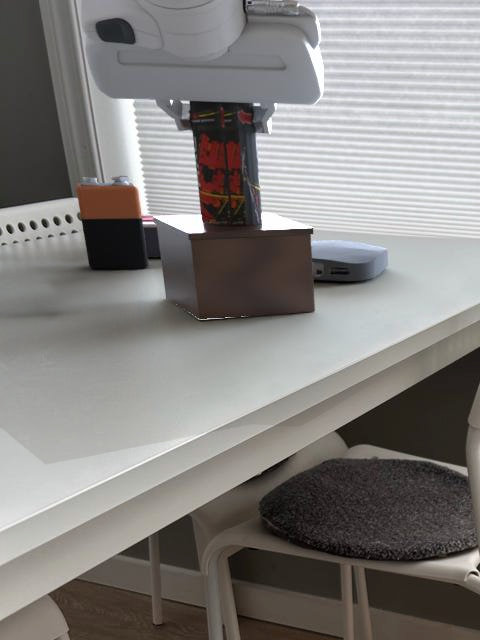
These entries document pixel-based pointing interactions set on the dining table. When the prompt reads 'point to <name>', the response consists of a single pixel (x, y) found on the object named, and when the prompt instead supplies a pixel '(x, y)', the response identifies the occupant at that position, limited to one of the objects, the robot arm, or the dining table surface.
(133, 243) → the battery
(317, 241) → the media streaming box
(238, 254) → the walnut box
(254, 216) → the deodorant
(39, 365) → the dining table surface
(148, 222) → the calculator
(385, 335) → the dining table surface
